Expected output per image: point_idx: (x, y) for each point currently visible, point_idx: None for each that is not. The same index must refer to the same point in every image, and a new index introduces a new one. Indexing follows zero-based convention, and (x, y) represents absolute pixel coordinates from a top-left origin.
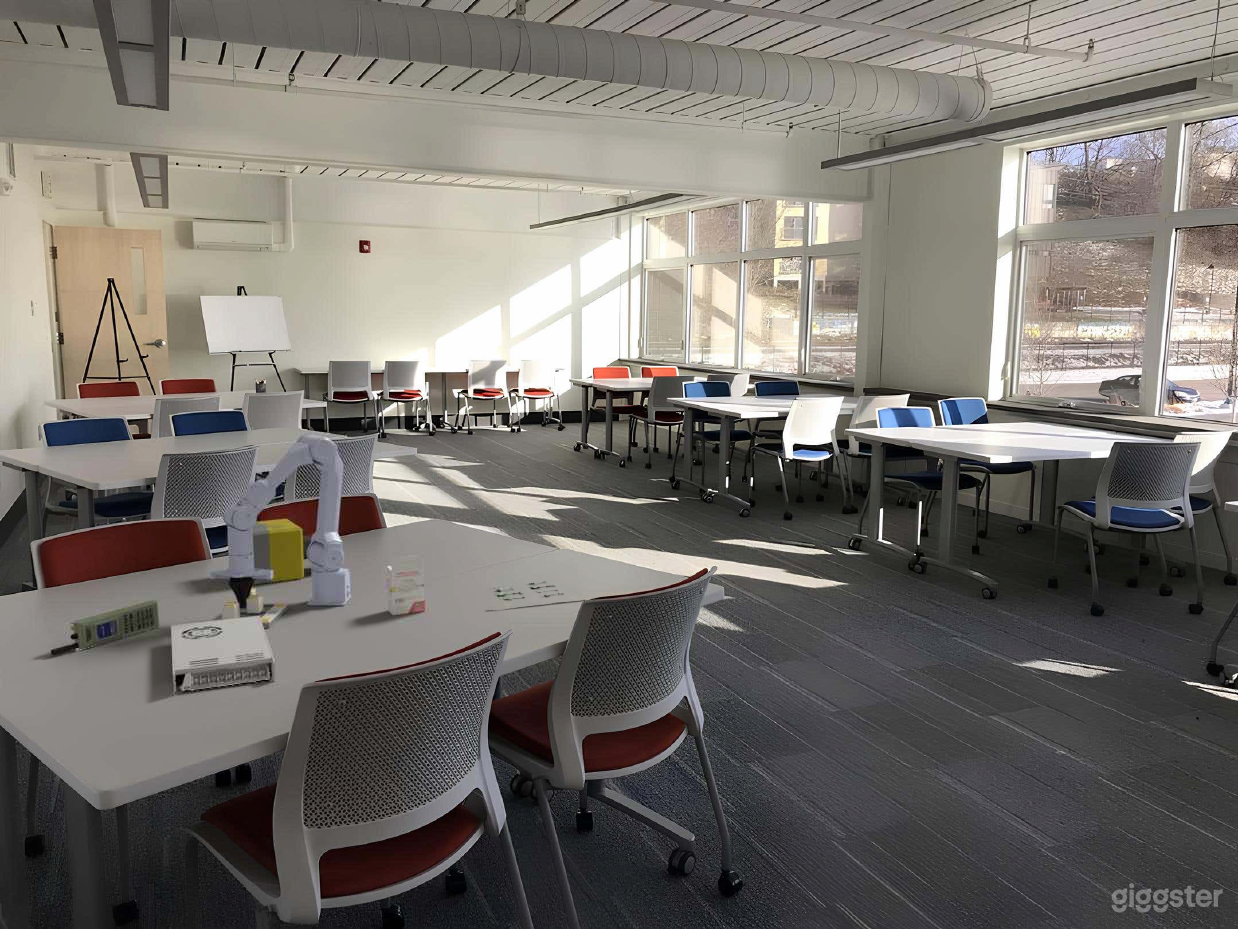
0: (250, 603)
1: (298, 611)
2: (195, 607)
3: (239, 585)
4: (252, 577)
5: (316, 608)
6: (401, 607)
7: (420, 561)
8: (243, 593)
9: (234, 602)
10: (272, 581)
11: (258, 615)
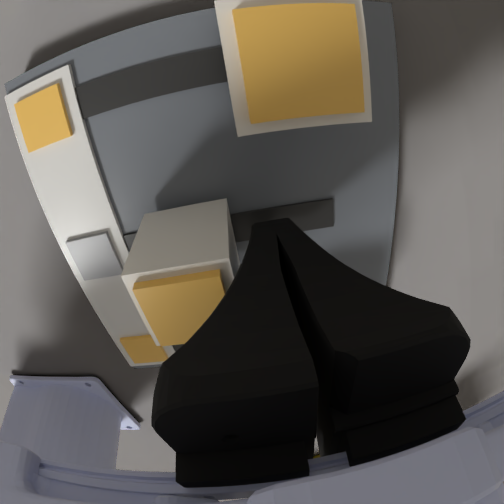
0: (195, 241)
1: (77, 329)
2: (487, 289)
3: (304, 341)
4: (186, 485)
5: (53, 358)
6: None
7: None
8: (255, 287)
9: (275, 100)
10: (319, 456)
11: (147, 199)
